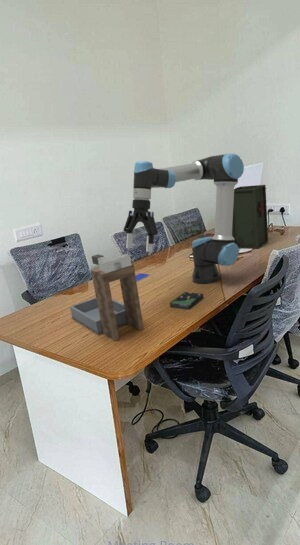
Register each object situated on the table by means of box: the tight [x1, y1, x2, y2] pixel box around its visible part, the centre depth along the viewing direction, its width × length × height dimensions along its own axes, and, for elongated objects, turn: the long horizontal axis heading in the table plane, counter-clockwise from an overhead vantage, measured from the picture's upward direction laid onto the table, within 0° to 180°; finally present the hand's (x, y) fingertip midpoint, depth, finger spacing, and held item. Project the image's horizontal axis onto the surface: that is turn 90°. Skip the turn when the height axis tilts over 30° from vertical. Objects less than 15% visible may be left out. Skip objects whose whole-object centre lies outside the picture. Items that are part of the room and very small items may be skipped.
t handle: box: [91, 253, 132, 273], centre depth 150 cm, size 19×12×4 cm, turn 35°
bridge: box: [90, 263, 145, 342], centre depth 151 cm, size 10×14×28 cm
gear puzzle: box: [197, 232, 215, 239], centre depth 297 cm, size 31×16×4 cm, turn 47°
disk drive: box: [169, 291, 204, 311], centre depth 176 cm, size 10×3×15 cm
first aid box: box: [232, 184, 269, 250], centre depth 256 cm, size 18×18×40 cm
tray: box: [69, 297, 127, 336], centre depth 170 cm, size 27×18×6 cm, turn 35°
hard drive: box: [135, 272, 150, 283], centre depth 223 cm, size 2×8×12 cm
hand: (138, 249), depth 159 cm, fingers open, 13 cm apart
